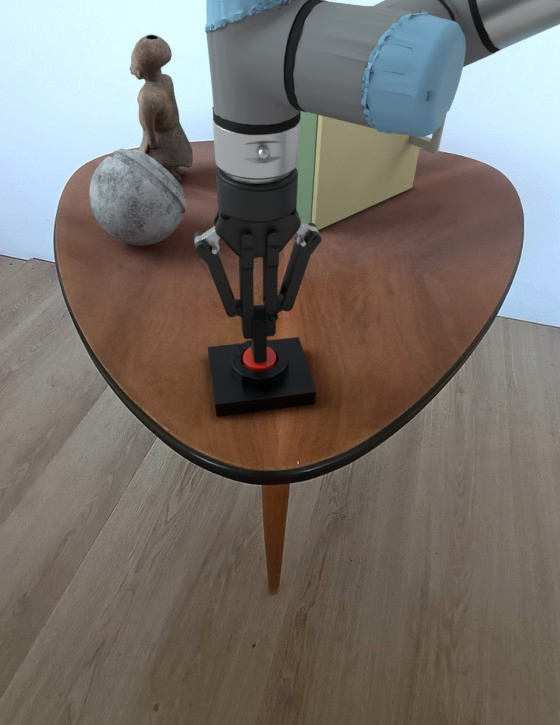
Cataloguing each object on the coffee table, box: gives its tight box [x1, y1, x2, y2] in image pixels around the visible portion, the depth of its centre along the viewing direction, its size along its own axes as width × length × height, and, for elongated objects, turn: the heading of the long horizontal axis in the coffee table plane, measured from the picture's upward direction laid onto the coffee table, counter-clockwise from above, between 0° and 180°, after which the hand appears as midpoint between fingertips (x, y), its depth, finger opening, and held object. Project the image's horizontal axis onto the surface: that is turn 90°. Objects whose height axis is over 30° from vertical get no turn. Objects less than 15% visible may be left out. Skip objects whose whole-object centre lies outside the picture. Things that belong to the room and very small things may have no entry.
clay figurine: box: [128, 34, 194, 182], centre depth 101 cm, size 13×10×25 cm
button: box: [243, 347, 276, 372], centre depth 67 cm, size 4×4×2 cm
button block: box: [207, 336, 317, 417], centre depth 68 cm, size 12×10×4 cm
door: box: [312, 115, 447, 231], centre depth 92 cm, size 7×26×24 cm, turn 130°
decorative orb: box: [88, 148, 188, 246], centre depth 88 cm, size 15×14×15 cm
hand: (258, 354), depth 67 cm, fingers closed
